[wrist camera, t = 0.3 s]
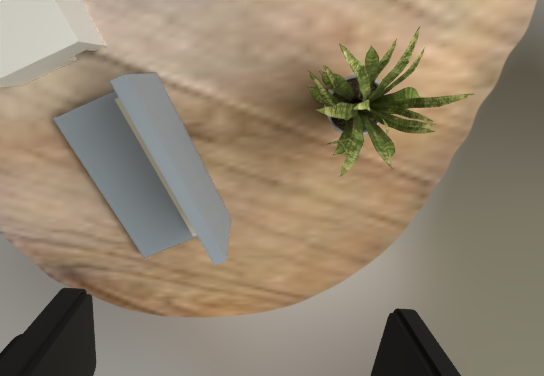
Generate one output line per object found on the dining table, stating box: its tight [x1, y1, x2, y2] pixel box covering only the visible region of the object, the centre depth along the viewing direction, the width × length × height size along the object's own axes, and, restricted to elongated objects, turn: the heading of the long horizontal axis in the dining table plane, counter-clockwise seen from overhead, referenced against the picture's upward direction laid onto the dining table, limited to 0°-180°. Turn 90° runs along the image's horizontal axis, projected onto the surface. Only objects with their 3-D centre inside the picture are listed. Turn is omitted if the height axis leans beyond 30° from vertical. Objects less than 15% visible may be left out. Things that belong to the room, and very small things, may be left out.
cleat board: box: [53, 73, 231, 266], centre depth 40 cm, size 22×14×12 cm, turn 23°
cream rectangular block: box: [0, 0, 107, 87], centre depth 36 cm, size 6×13×7 cm, turn 113°
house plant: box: [308, 27, 473, 177], centre depth 36 cm, size 14×14×16 cm
